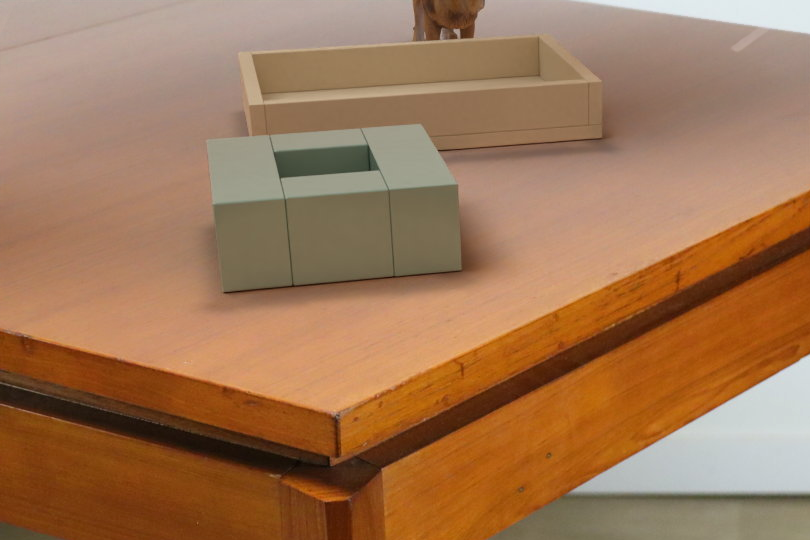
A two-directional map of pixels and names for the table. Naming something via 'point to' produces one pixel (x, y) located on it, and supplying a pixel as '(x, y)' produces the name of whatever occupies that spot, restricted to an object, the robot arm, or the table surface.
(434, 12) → the lion figurine
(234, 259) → the block
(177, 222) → the table surface
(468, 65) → the wooden tray
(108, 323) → the table surface
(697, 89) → the table surface
